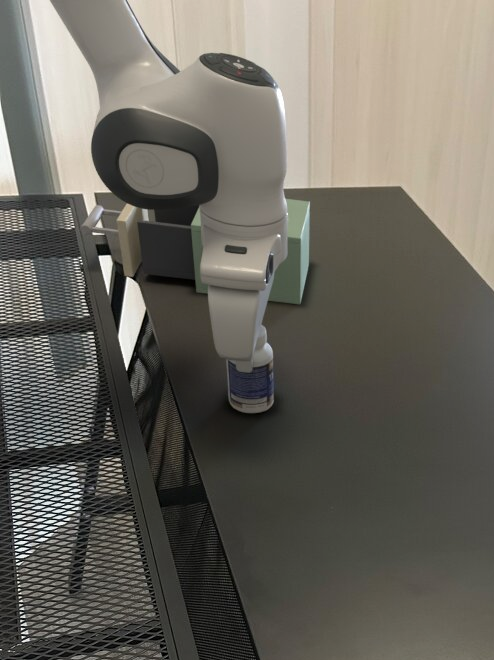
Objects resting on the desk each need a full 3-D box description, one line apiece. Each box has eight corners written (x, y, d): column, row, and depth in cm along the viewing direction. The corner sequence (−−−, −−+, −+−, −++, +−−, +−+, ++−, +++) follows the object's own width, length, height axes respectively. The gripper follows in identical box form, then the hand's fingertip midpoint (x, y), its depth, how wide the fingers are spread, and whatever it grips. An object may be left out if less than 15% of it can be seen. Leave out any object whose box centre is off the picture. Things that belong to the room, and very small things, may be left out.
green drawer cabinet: (196, 292, 121) (190, 224, 114) (211, 253, 129) (207, 188, 123) (300, 304, 122) (300, 238, 115) (308, 265, 131) (309, 201, 124)
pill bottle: (279, 411, 104) (279, 338, 97) (236, 417, 101) (232, 344, 94) (266, 387, 107) (264, 315, 100) (223, 393, 105) (218, 320, 98)
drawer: (82, 271, 119) (71, 214, 113) (103, 236, 127) (95, 182, 121) (222, 287, 121) (219, 232, 115) (235, 252, 129) (232, 199, 123)
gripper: (230, 193, 96) (235, 307, 106) (196, 276, 82) (206, 399, 92) (286, 200, 97) (286, 313, 107) (262, 284, 83) (265, 405, 93)
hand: (249, 353), depth 99 cm, fingers closed on pill bottle, 5 cm apart
